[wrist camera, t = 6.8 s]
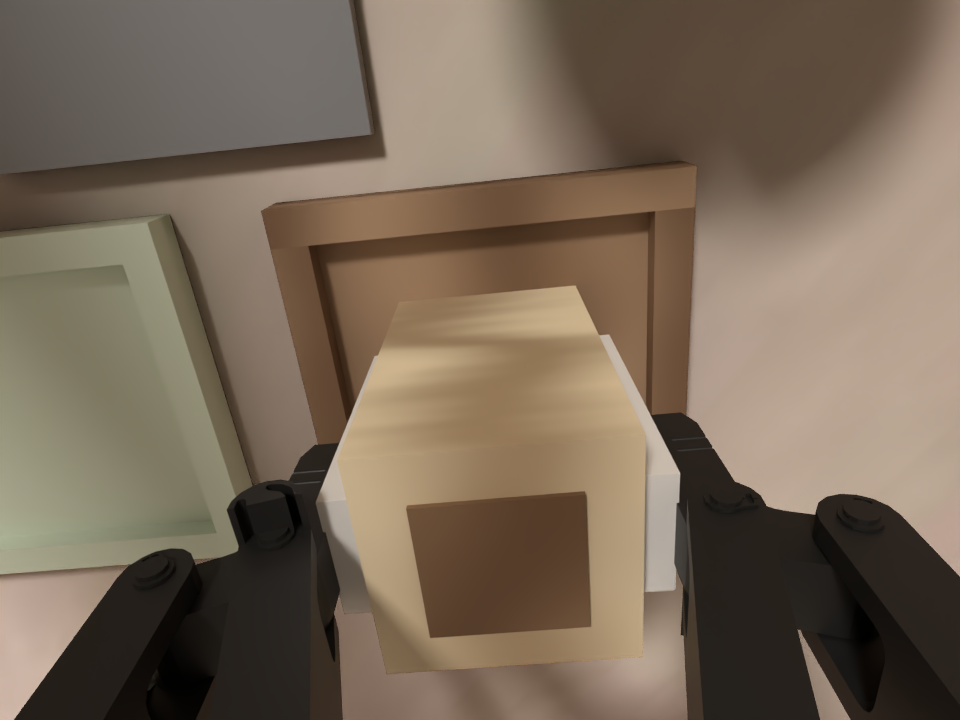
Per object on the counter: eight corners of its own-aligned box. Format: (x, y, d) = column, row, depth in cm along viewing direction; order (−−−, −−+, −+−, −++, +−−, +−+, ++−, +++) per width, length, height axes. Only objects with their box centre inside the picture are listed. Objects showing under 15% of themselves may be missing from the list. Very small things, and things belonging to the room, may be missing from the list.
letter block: (424, 455, 19) (387, 684, 12) (398, 302, 17) (335, 464, 10) (581, 442, 19) (644, 666, 12) (575, 285, 17) (647, 437, 10)
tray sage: (-35, 554, 22) (-63, 579, 21) (-209, 253, 17) (-255, 264, 16) (266, 530, 21) (254, 554, 20) (168, 213, 17) (147, 222, 16)
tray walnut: (351, 523, 21) (343, 547, 20) (275, 202, 17) (260, 211, 15) (670, 498, 21) (681, 521, 19) (682, 161, 16) (697, 166, 15)
